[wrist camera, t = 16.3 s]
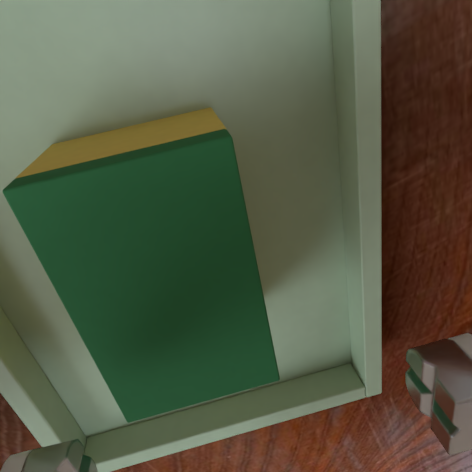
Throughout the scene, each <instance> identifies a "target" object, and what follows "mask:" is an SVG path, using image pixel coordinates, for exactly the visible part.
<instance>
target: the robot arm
mask: <svg viewBox="0 0 472 472" xmlns="http://www.w3.org/2000/svg"><path fill="white" fill-rule="evenodd" d="M406 361H407V362H408V363H409V365H410V368H409V369H408V370H407V371H406V385H407V388H408V392H409V394H410V396H411V398H412V400H413V402H414V404H415V405H416V407H417V408H418V410H419V411H420V412H421V413H423V414H425V415H427V416H429V417H430V418H431V429H432V431H433V432H434V434H435V435H436V437H437V438H438V439H439V441H440V442H441V444H442V445H443V447H444V448H445V450H446V451H447V453H448V454H449V455H453V454H457V453H461V452H465V451H469V450H472V335H471V334H469V333H467V334H462V335H459V336H455V337H452V338H448V339H442V340H439V341H435V342H432V343H428V344H425V345H421V346H418V347H414V348H411V349H409V350H408V351H407V353H406ZM83 451H84V446H83V444H82V443H81V442H80V440H79V439H75V440H71V441H66V442H62V443H58V444H54V445H50V446H46V447H42V448H37V449H33V450H29V451H25V452H21V453H18V454H14V455H10V457H9V458H8V459H7V460H6V461H5V463H4V464H3V467H2V469H1V472H98V470H97V467H96V464H95V462H94V461H93V459H92V458H91V457H89V456H86V455H83Z"/></svg>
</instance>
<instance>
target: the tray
mask: <svg viewBox="0 0 472 472" xmlns="http://www.w3.org/2000/svg"><path fill="white" fill-rule="evenodd" d="M209 107H211V108H212V109H213V111H214V112H215V113H216V115H217V116H218V118H219V119H220V120H221V122H222V123H223V125H224V126H225V127H226V129H227V131H228V132H229V133H230V135H231V136H232V138H233V143H234V148H235V154H236V159H237V164H238V169H239V174H240V179H241V184H242V189H243V194H244V199H245V204H246V209H247V214H248V219H249V224H250V229H251V235H252V240H253V245H254V250H255V255H256V260H257V265H258V270H259V275H260V280H261V285H262V290H263V295H264V300H265V305H266V310H267V316H268V321H269V326H270V331H271V336H272V341H273V346H274V351H275V356H276V361H277V366H278V371H279V376H280V380H279V381H276V382H272V383H269V384H265V385H262V386H258V387H255V388H251V389H247V390H244V391H240V392H237V393H233V394H230V395H226V396H222V397H219V398H215V399H212V400H208V401H205V402H201V403H198V404H194V405H190V406H187V407H183V408H180V409H176V410H173V411H169V412H165V413H162V414H158V415H155V416H151V417H148V418H144V419H141V420H137V421H133V422H130V423H128V422H127V421H126V419H125V417H124V415H123V414H122V412H121V410H120V408H119V406H118V404H117V403H116V401H115V399H114V397H113V395H112V393H111V392H110V390H109V388H108V386H107V384H106V382H105V380H104V379H103V377H102V375H101V373H100V371H99V369H98V368H97V366H96V364H95V362H94V360H93V358H92V356H91V355H90V353H89V351H88V349H87V347H86V345H85V344H84V342H83V340H82V338H81V336H80V334H79V333H78V331H77V329H76V327H75V325H74V323H73V321H72V320H71V318H70V316H69V314H68V312H67V310H66V309H65V307H64V305H63V303H62V301H61V299H60V298H59V296H58V294H57V292H56V290H55V288H54V286H53V285H52V283H51V281H50V279H49V277H48V275H47V274H46V272H45V270H44V268H43V266H42V264H41V262H40V261H39V259H38V257H37V255H36V253H35V251H34V250H33V248H32V246H31V244H30V242H29V240H28V239H27V237H26V235H25V233H24V231H23V229H22V227H21V226H20V224H19V222H18V220H17V218H16V216H15V215H14V213H13V211H12V209H11V207H10V205H9V203H8V202H7V200H6V198H5V196H4V194H3V189H4V188H5V187H6V186H8V185H9V184H10V183H11V182H12V181H13V180H14V179H15V178H16V177H17V176H18V175H19V174H20V173H21V172H22V171H24V170H25V169H26V168H27V167H28V166H29V165H30V164H31V163H32V162H33V161H34V160H36V159H37V158H38V157H39V156H40V155H41V154H42V153H43V152H44V151H45V150H46V149H48V148H49V147H50V146H51V145H52V144H55V143H60V142H64V141H68V140H73V139H77V138H81V137H85V136H90V135H94V134H98V133H102V132H107V131H111V130H115V129H120V128H124V127H128V126H132V125H137V124H141V123H145V122H149V121H154V120H158V119H162V118H167V117H171V116H175V115H179V114H184V113H188V112H192V111H197V110H201V109H205V108H209ZM0 393H1V394H2V395H3V397H4V398H5V399H6V401H7V402H8V403H9V405H10V406H11V407H12V408H13V410H14V411H15V412H16V414H17V415H18V416H19V418H20V419H21V420H22V421H23V423H24V424H25V425H26V427H27V428H28V429H29V431H30V432H31V433H32V434H33V436H34V437H35V438H36V440H37V441H38V442H39V444H40V445H41V446H42V447H46V446H50V445H54V444H58V443H62V442H66V441H71V440H75V439H79V440H80V442H81V443H82V444H83V446H84V451H83V455H86V456H89V457H91V458H92V459H93V461H94V462H95V464H96V467H97V470H98V472H110V471H114V470H117V469H121V468H124V467H128V466H131V465H135V464H138V463H142V462H145V461H148V460H152V459H155V458H159V457H162V456H166V455H169V454H173V453H176V452H180V451H183V450H186V449H190V448H193V447H197V446H200V445H204V444H207V443H211V442H214V441H218V440H221V439H224V438H228V437H231V436H235V435H238V434H242V433H245V432H249V431H252V430H256V429H259V428H262V427H266V426H269V425H273V424H276V423H280V422H283V421H287V420H290V419H294V418H297V417H300V416H304V415H307V414H311V413H314V412H318V411H321V410H325V409H328V408H332V407H335V406H338V405H342V404H345V403H349V402H352V401H356V400H359V399H363V398H365V396H366V397H370V396H373V395H377V394H380V393H382V259H381V0H0Z"/></svg>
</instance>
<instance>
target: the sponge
mask: <svg viewBox="0 0 472 472" xmlns="http://www.w3.org/2000/svg"><path fill="white" fill-rule="evenodd" d="M3 194H4V196H5V198H6V200H7V202H8V203H9V205H10V207H11V209H12V211H13V213H14V215H15V216H16V218H17V220H18V222H19V224H20V226H21V227H22V229H23V231H24V233H25V235H26V237H27V239H28V240H29V242H30V244H31V246H32V248H33V250H34V251H35V253H36V255H37V257H38V259H39V261H40V262H41V264H42V266H43V268H44V270H45V272H46V274H47V275H48V277H49V279H50V281H51V283H52V285H53V286H54V288H55V290H56V292H57V294H58V296H59V298H60V299H61V301H62V303H63V305H64V307H65V309H66V310H67V312H68V314H69V316H70V318H71V320H72V321H73V323H74V325H75V327H76V329H77V331H78V333H79V334H80V336H81V338H82V340H83V342H84V344H85V345H86V347H87V349H88V351H89V353H90V355H91V356H92V358H93V360H94V362H95V364H96V366H97V368H98V369H99V371H100V373H101V375H102V377H103V379H104V380H105V382H106V384H107V386H108V388H109V390H110V392H111V393H112V395H113V397H114V399H115V401H116V403H117V404H118V406H119V408H120V410H121V412H122V414H123V415H124V417H125V419H126V421H127V422H128V423H130V422H133V421H137V420H141V419H144V418H148V417H151V416H155V415H158V414H162V413H165V412H169V411H173V410H176V409H180V408H183V407H187V406H190V405H194V404H198V403H201V402H205V401H208V400H212V399H215V398H219V397H222V396H226V395H230V394H233V393H237V392H240V391H244V390H247V389H251V388H255V387H258V386H262V385H265V384H269V383H272V382H276V381H279V380H280V376H279V371H278V366H277V361H276V356H275V351H274V346H273V341H272V336H271V331H270V326H269V321H268V316H267V310H266V305H265V300H264V295H263V290H262V285H261V280H260V275H259V270H258V265H257V260H256V255H255V250H254V245H253V240H252V235H251V229H250V224H249V219H248V214H247V209H246V204H245V199H244V194H243V189H242V184H241V179H240V174H239V169H238V164H237V159H236V154H235V148H234V143H233V138H232V136H231V135H230V133H229V132H228V131H227V129H226V127H225V126H224V125H223V123H222V122H221V120H220V119H219V118H218V116H217V115H216V113H215V112H214V111H213V109H212V108H211V107H209V108H205V109H201V110H197V111H192V112H188V113H184V114H179V115H175V116H171V117H167V118H162V119H158V120H154V121H149V122H145V123H141V124H137V125H132V126H128V127H124V128H120V129H115V130H111V131H107V132H102V133H98V134H94V135H90V136H85V137H81V138H77V139H73V140H68V141H64V142H60V143H55V144H52V145H51V146H50V147H49V148H48V149H46V150H45V151H44V152H43V153H42V154H41V155H40V156H39V157H38V158H37V159H36V160H34V161H33V162H32V163H31V164H30V165H29V166H28V167H27V168H26V169H25V170H24V171H22V172H21V173H20V174H19V175H18V176H17V177H16V178H15V179H14V180H13V181H12V182H11V183H10V184H9V185H8V186H6V187H5V188H4V189H3Z"/></svg>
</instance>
